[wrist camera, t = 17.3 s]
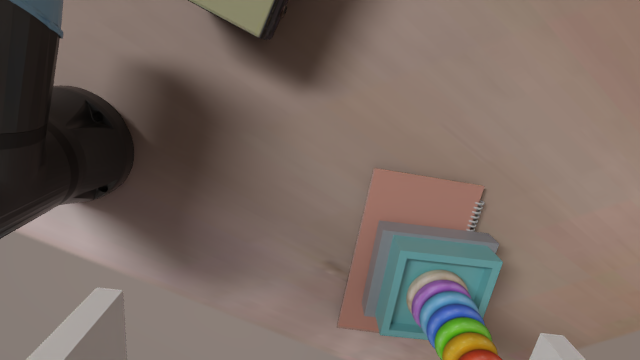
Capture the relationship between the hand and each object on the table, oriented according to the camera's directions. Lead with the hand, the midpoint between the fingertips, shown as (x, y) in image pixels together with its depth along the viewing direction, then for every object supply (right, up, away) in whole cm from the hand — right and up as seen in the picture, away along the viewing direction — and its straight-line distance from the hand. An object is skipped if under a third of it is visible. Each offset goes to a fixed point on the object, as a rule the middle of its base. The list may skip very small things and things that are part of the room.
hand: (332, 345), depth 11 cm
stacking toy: (+15, -10, +35) cm, 39 cm away
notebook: (+13, -7, +42) cm, 44 cm away
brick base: (+15, -8, +40) cm, 43 cm away
